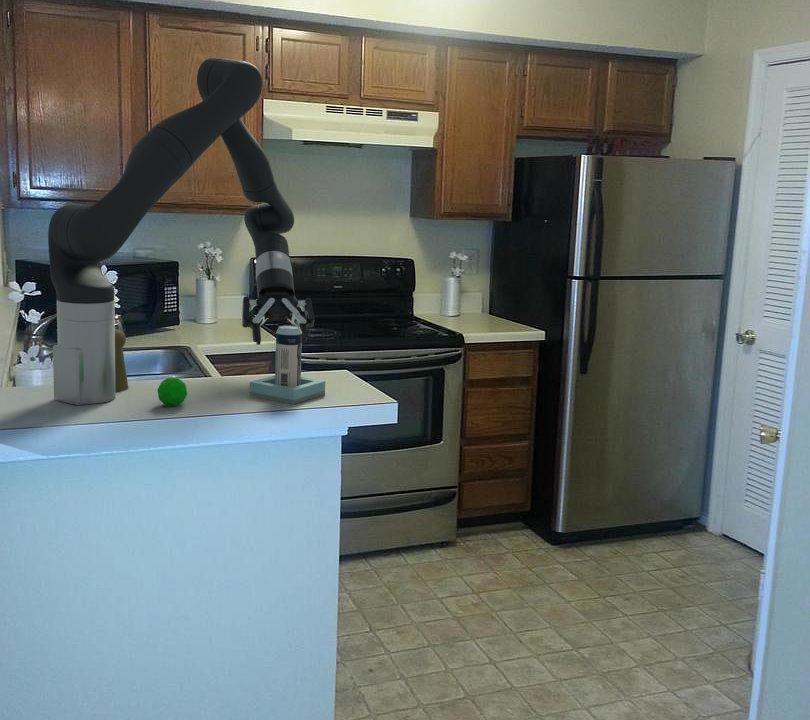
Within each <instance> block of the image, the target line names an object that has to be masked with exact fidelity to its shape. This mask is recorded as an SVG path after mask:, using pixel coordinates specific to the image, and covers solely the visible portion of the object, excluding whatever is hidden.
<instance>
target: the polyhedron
mask: <svg viewBox="0 0 810 720" xmlns="http://www.w3.org/2000/svg"><path fill="white" fill-rule="evenodd" d="M157 396H158V400H159V401H160V402H161V403H162V404H163V405H164V406H167V407H173V406H174V407H177V406H180V405H181V404H182V403H184V402H185V400H186V398H187V397H188V390H187V385H186V383H185V382H184V381H183V380H182V379H180V378H179V377H173V376H171V377H166V378H165V379H164V380H163V379H162V381H161V382H160V383H159V386H158V388H157Z"/></svg>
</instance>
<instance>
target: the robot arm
mask: <svg viewBox="0 0 810 720" xmlns="http://www.w3.org/2000/svg"><path fill="white" fill-rule="evenodd" d="M196 84H197V90H198V93H199V96H200V99H201V102H200V101H199V102H198V103H197V104H195V105H193V106H191V107H188V108H187V109H184V110H182V111H179V112H176V113H175V114H172V115H170V116H168V117H166V118H164V119H162V120H161V121H159V122H157V123H156V124H155V125H153V127H152V128H150V129H149V130H148V131H147V133H145V134H144V135H143V136H142V137H141V139H139V140H138V141H137V143H136V144H135V145H134V146H133V148H132V150H131V151H130V154H129V155H128V158H127V162H126V163H125V167H124V171H123V174H122V176H121V178H119V181H118V182H117V183H116V184H115V185H114V187H112V188H111V189H110V190H109V191H108V192H107V193H106V194H105V195H104V196H103V197H101V198H100V199H99V200H98V201H96V202H95V203H93V204H91V205H89V204H79V203H77V204H76V203H70V204H66V205H65V204H64V205H62V206H60V207H59V208H58V209H56V210H55V212H54V213H53V214H52V216H51V218H50V220H49V225H48V231H47V235H48V236H47V242H48V244H47V245H48V257H49V260H48V261H49V272H50V279H51V282H52V285H53V286H54V289H55V294H56V323H57V324H56V327H57V328H56V330H57V333H56V336H57V344H54V345H53V346H52V370H53V371H52V372H53V373H52V374H53V376H52V377H53V400H54V401H58V402H63V403H67V404H71V405H76V406H81V405H89V404H100V403H106V402H109V401H113V400H115V398H116V392H115V329H116V327H115V324H116V323H115V321H116V319H115V311H116V309H115V305H116V304H115V286H114V285H113V283H112V282H111V281H110V280H109V279H108V278H107V277H106V276H105V275H104V273H103V271H102V269H101V263H100V262H102V261H107V260H109V259H111V258H112V257H113V256H114V255H116V254H117V253H118V252H119V251H120V250H121V248H122V247H123V246H124V244H125V243H126V242H127V241H128V239H129V238H130V236H131V235H132V234H133V232H134V230H136V228H137V226H138V225H139V224H140V223H141V221H142V220H143V218H144V217H145V216H146V215H147V213H149V211H150V210H152V208H153V207H154V206H155V205H156V204H157V203H158V201H160V200H161V198H162V197H163V196H164V195H165V194H166V193H167V192H168V191H169V190H170V189H171V187H172V186H173V185H175V184H176V182H178V180H180V179H181V177H182V176H183V175H185V174H186V172H187V171H188V170H189V169H190V168H191V167H192V166H193V165H194V164H195V162H196V161H197V160H198V159H199V158H200V157H201V156H202V154H203V153H204V152H205V151H206V150H208V148H209V147H211V145H213V144H214V143H215V142H216V140H217V139H218V138H219V137H221V139H222V141H223V143H224V144H225V147H226V149H227V151H228V153H229V155H230V157H231V158H230V159H231V161H232V163H233V166H234V168H235V171H236V174H237V177H238V181H239V183H240V186H241V189H242V192H243V195H244V196H245V198H246V199H247V200H248V201H249V202H252V203H260V204H256V205H252V206H249V207H247V209H246V211H245V212H244V216H243V219H244V220H243V221H244V224H245V227H246V229H247V231H248V234H249V235H250V237H251V240H252V243H253V246H254V252H255V263H256V264H255V280H256V289H257V290H256V291H257V298H256V299H250V297H249V296H244V297H243V299H242V300H243V301H242V313H241V314H242V315H241V317H242V319H241V320H242V322H241V324H242V327H243V328H244V329H245V328H250V329H251V330H252V331H251V333H252V341H253V343H256V345H259V346H260V345H261V342H262V335H261V326H262V325H263V324H264V323H265V322H266V321H267V320H270V321H272V322H273V321H277V320H278V321H285V322H286V320H287V321H288V322H290V323H291V325H293V326H298V327H300V329H301V331H302V346H303V345H304V343H306V342H307V340H308V331H307V328H309V329H312V328H313V327H314V323H315V320H316V317H315V314H314V313H315V312H314V307H313V302H312V299H311V297H305V299H303V300H301V299H300V300H299V299H297V298H296V294H295V292H296V291H295V285H294V276H293V268H292V267H293V266H292V263H291V259H290V250H289V244H288V240H287V238H286V237H285V236H284V235H282V234H286V233H288V232H290V231H291V230H292V228H293V227H294V224H295V215H294V212H293V211H292V208H291V206H290V204H289V203H288V202H287V200H286V199H285V198H284V195H282V193H281V191H280V189H279V188H278V186H277V183H276V180H275V178H274V174H273V170H272V166H271V163H270V161H269V158H268V156H267V154H266V153H265V150H264V149H263V148H262V146H261V145H260V143H259V142H258V141H257V139H256V138H255V137H254V135H253V134H252V132H251V131H250V130H249V129H248V127H247V126H246V125H245V123H244V122H243V119H242V117H244V115H246V114H247V113H248V112H250V110H251V109H252V108H253V107H254V106H255V105H256V104H257V103H258V100H259V99H260V96H261V94H262V90H263V76H262V74H261V71H260V70H259V69H258V67H257V66H255V65H254V64H252V63H251V62H247V61H244V60H240V59H239V60H238V59H233V58H226V57H225V58H224V57H210V58H207V59H205V60H204V61H202V63H201V64H200V65H199V68H198V70H197V74H196ZM254 307H256V308H257V310H258V312H257V314H256V315H255V317H254V318H251V317H250V312H251V311H252V310H253V309H254ZM298 308H300V309H301V311H302V312H304V315H305V317H303V316H302V315H301V313H300V311H299V310H298Z"/></svg>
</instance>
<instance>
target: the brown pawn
mask: <svg viewBox="0 0 810 720" xmlns="http://www.w3.org/2000/svg"><path fill="white" fill-rule="evenodd" d="M126 339H127V338H126V333H124V331H123V330H121V329H117V328H115V393H116V392H117V393H118V392H124V391H127V390H128V389H129V381H128V376H127V375H128V374H127V369H126V362H125V356H124V349H123V348H124V346H125V344H126V341H127V340H126Z"/></svg>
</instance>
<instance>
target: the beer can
mask: <svg viewBox="0 0 810 720" xmlns="http://www.w3.org/2000/svg"><path fill="white" fill-rule="evenodd" d="M302 346H303V345H302V331H301V329H300V327H298V326H295V325H279V326H278V328H277V330H276V333H275V363H274V365H275V366H274V367H275V371H274V372H275V373H274V376H275V384H276V385H281V386H287V387H296V386H299V385H300V383H301V377H302V373H301V372H302Z"/></svg>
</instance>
